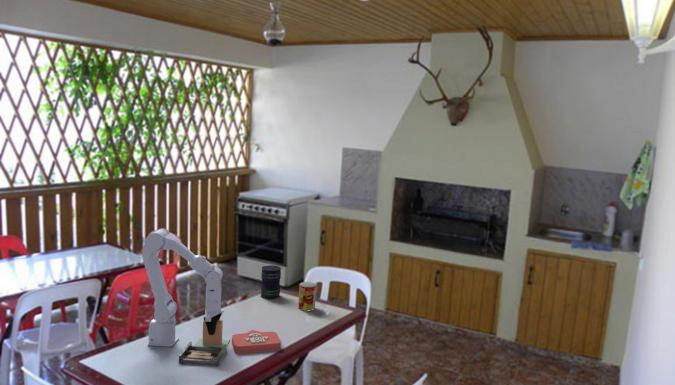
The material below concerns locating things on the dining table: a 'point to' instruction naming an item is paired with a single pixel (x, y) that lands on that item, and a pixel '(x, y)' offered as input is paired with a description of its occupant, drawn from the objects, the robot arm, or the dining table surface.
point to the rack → (217, 353)
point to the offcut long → (200, 357)
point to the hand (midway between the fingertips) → (212, 332)
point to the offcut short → (201, 354)
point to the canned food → (307, 296)
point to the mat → (200, 343)
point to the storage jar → (270, 282)
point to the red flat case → (255, 342)
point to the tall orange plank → (215, 338)
